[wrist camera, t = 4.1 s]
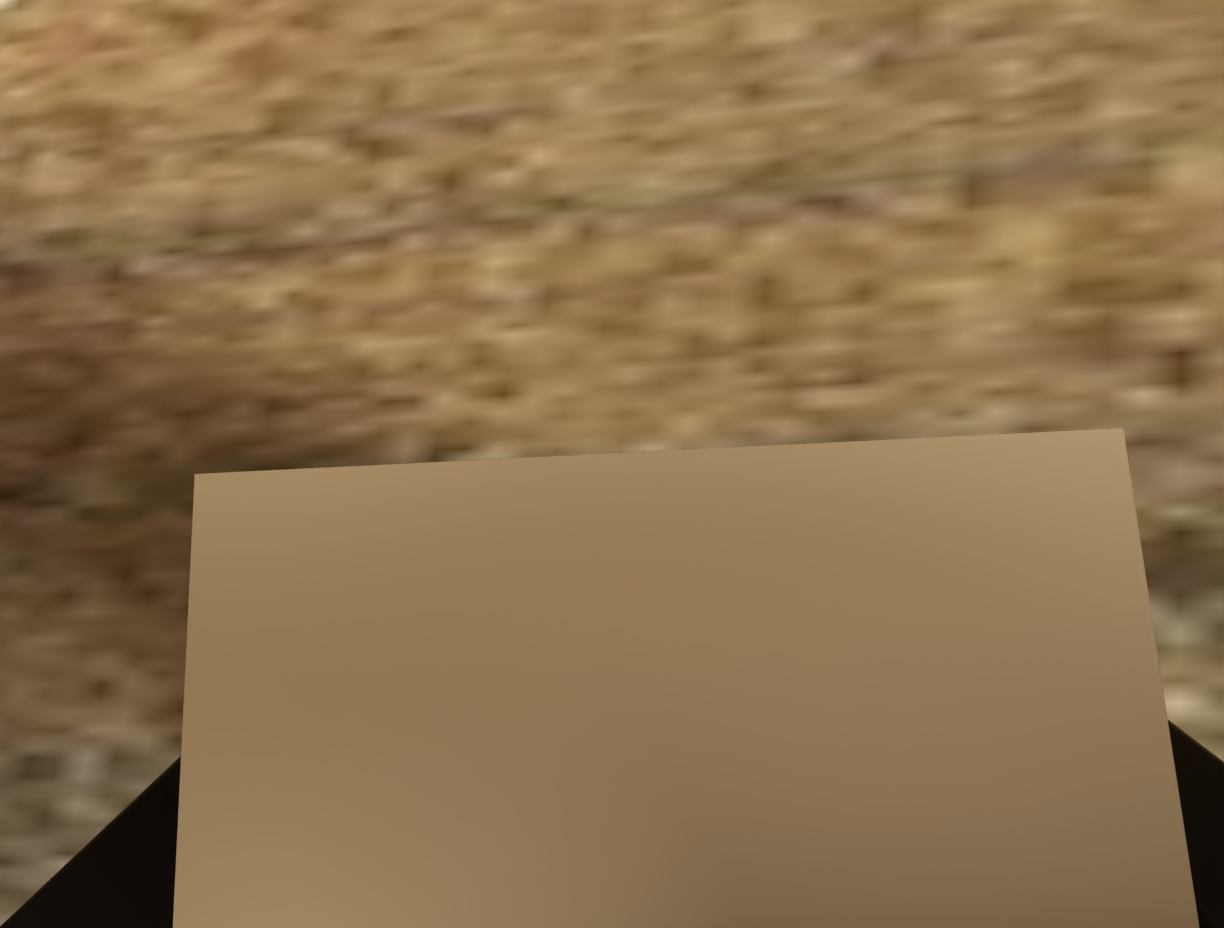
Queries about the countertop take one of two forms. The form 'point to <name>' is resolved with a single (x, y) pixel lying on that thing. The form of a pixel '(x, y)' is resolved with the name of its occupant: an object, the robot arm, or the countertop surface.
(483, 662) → the block
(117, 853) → the robot arm
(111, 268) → the countertop surface
